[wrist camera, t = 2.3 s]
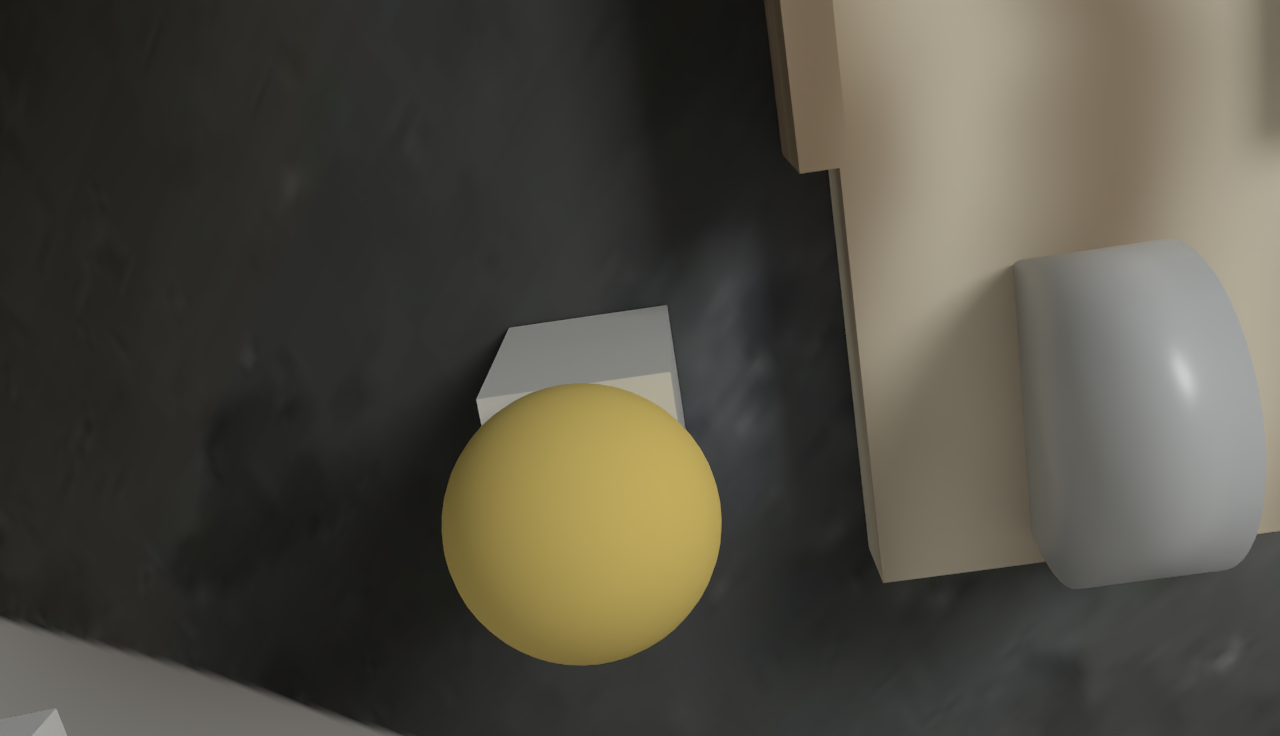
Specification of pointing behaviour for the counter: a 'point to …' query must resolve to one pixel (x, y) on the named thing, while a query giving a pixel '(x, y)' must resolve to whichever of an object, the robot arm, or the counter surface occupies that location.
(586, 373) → the tee
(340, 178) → the counter surface
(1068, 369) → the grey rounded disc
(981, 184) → the lane
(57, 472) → the counter surface
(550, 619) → the ball
